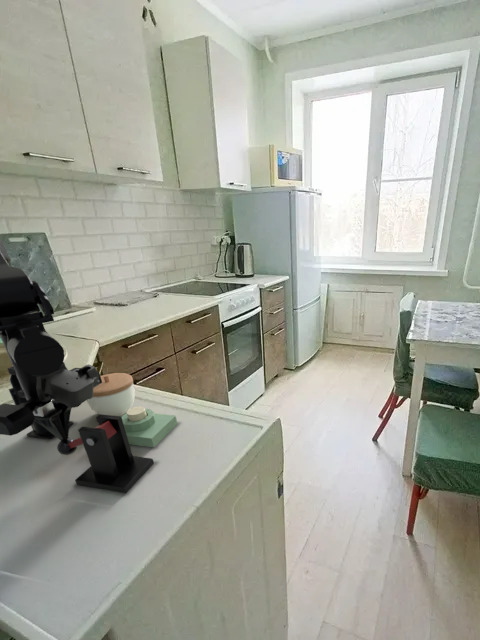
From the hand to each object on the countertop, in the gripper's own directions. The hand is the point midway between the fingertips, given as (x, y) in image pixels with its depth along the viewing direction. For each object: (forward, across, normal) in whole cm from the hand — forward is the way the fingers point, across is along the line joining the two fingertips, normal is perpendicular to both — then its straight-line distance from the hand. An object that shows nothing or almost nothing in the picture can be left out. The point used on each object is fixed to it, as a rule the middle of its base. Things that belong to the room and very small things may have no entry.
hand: (64, 439), depth 63 cm
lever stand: (+6, 0, -9) cm, 11 cm away
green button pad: (+6, +13, -5) cm, 15 cm away
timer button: (+3, +13, -5) cm, 14 cm away
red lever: (+1, 0, -5) cm, 5 cm away
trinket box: (+6, +20, +7) cm, 22 cm away
